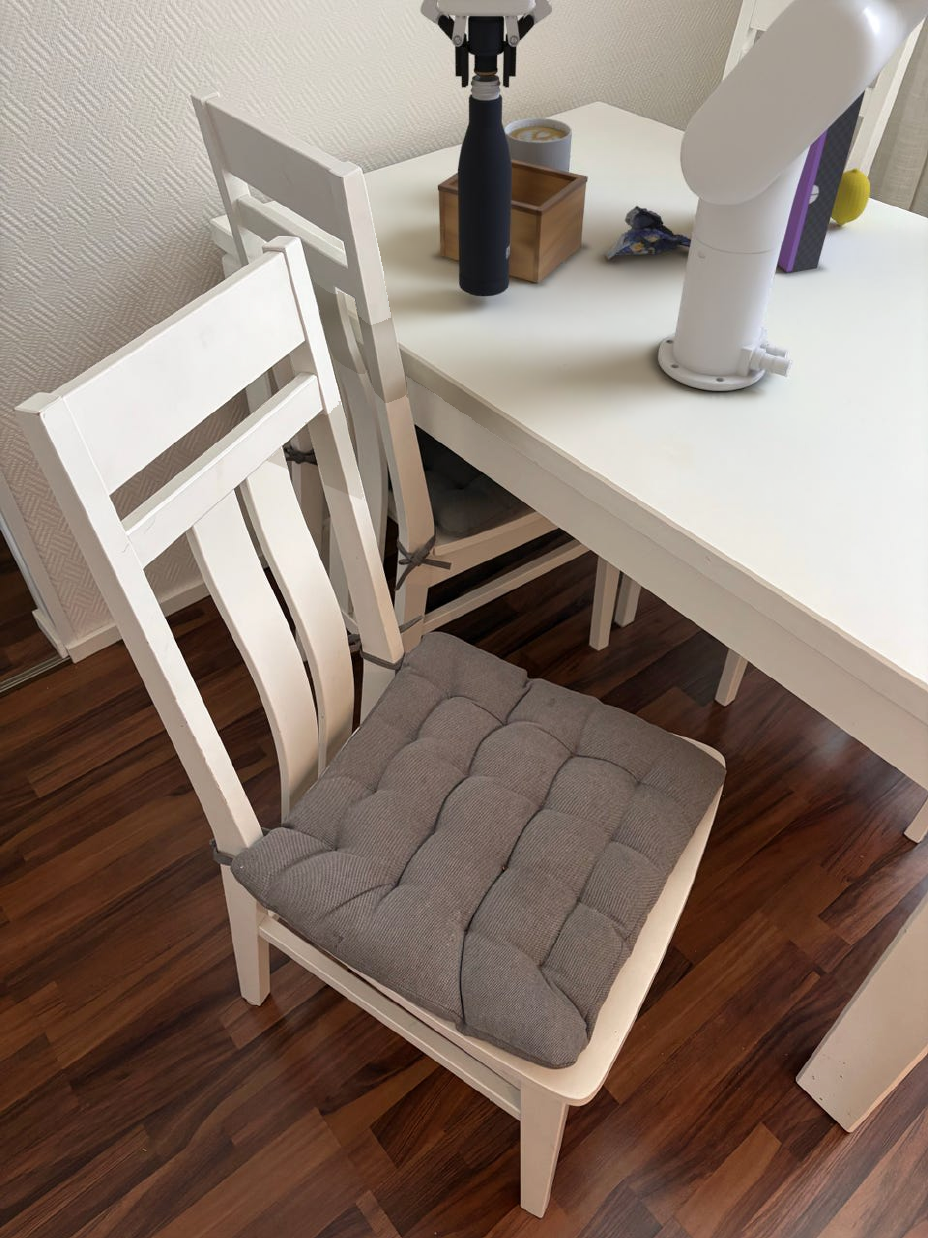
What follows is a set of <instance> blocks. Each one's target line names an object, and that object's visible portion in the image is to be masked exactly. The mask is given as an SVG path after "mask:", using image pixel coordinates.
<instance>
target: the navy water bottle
mask: <svg viewBox="0 0 928 1238" xmlns="http://www.w3.org/2000/svg"><path fill="white" fill-rule="evenodd" d="M467 41H468V52H469V55H472V56H473V58H474V59H473V61H474V64H473V65H474V66H473V67H474V68H473V73H474V74H475V75H473V76H472V77H471V82H470V86H471V88H470V92H471V93H470V95H469V96H468V123H467V127H466V131H465V133H464V137H463V140H462V144H461V147H460V153H459V158H458V165H457V173H458V232H459V261H458V285H459V288H460V290H462V291H463V292H464V293H466V294H468V295H470V296H475V297H494V296H497V295H500V294H502V293H504V292H506V290H507V289H508V288H509V285H510V275H509V263H510V228H511V192H512V164H511V157H510V151H509V146H508V142H507V139H506V135H505V132H504V128H505V127H504V125H503V96H502V95H501V94H500V93H501V91H502V90H501V87H500V86H501V84H502V83H501V81H500V76H498V75H497V73H498V71H499V68H498V56H500V55H502V54H503V47H504V41H505V16H467Z"/></svg>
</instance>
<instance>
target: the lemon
mask: <svg viewBox="0 0 928 1238" xmlns="http://www.w3.org/2000/svg"><path fill="white" fill-rule="evenodd" d="M870 194H871V183H870V180H869V178H868V177H867V175H866V174H865V173H863V172H862V171H860V169H859V168H856V167H855V168H853V169H850V170H847V171H843V174H842V178H841V182H840V185H839V189H838V193H837V196H836V200H835V204H834V207H833V211H832V215H831V218H830V219H832V220H833V221H835V222H836V224H837V225H838V226H841V227H842V226H844V225H845V224H847V223H851V222H853V221H855V220H857V219H858V218H859V217H861V215H862V214H863V213H864V211H865V209H866V208H867V205H868V203H869V199H870Z"/></svg>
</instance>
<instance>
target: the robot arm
mask: <svg viewBox="0 0 928 1238" xmlns="http://www.w3.org/2000/svg"><path fill="white" fill-rule="evenodd" d="M419 10H420V13H421V15H423V16H424V17H425V18H427V19H428V20H429V21H431V22H432V23H433V24H435V25H437V26H438V27H439V28H440V30H441V31H442V32H443V33H444V34H445V35H446V36H447V38H448V39H450V41H451V43H452V44H453V46H454V56H455V57H454V67H455V70H454V72H455V73H454V75H455V77H458V78H459V77H460V78H461V88H462V89H463V88H464V89H465V88H467V87H469V82H470V81H469V80H470V53H469V52H468V34H467V33H466V32H465V31H466V25H467V21H468V17H469V16H503V17H504V22H505V27H506V33H505V37H504V47H503V53H502V54H503V56H502V87H504V88H505V89H507V88H510V78H514V77H515V78H516V77H517V48H518V45H519V44H520V42H521V40H523V39H524V37H525V36H526V35H527V34H528V33H530V31H531V30H532V28H533V27H534V26H536V25H537V24H539V23H540V22H541V21H543V20H544V19H545V18H547V17H548V16H550V15H551V14H552V12H553V6H552V3H551V1H550V0H422V3H421V5H420V9H419ZM451 16H455V17H454V19H453V17H451ZM518 16H521V17H520V18H519V17H518ZM926 17H928V0H793V1H792V2H790V3H789V4H788V5H787V6H786V7H785V9H783V11H781V13H779V15H778V16H777V17H776V18H775V19H774V20H773V21H772V23H771V24H769V26H768V27H767V28H766V30H764V31H763V33H762V34H761V35H760V36H759V37H760V38H759V39H758V38H757V39H758V40H756V41H755V42H754V44H753V45H752V46H751V47H750V48H749V49H748V51H747V52H745V54H744V55H743V56H742V58H741V59H740V60H739V61H738V62H737V64H736V65H735V66H734V67H733V68H732V69H731V71H730V72H729V73H728V74H727V75H726V76H725V78H723V80H722V81H721V82H720V83H719V84H718V85H717V87H716V88H715V89H714V91H713V92H712V93H711V94H710V95H709V96H708V98H706V100H705V101H704V102H703V104H702V105H700V107H698V110H696V112H695V113H694V114H693V116H692V117H691V119H690V120H689V122H688V123H687V126H686V128H685V130H684V132H683V136H682V140H681V144H680V153H679V159H680V168H681V173H682V176H683V179H684V181H685V183H686V185H687V187H688V188H689V189H690V191H691V192H692V193H693V194H695V196H696V197H698V200H697V205H696V211H695V216H694V222H693V227H692V233H691V238H690V239H691V244H690V247H689V250H688V255H687V262H686V267H685V274H684V279H683V286H682V292H681V299H680V302H679V303H680V304H679V309H678V315H677V321H676V327H675V332H673V333H672V334H670V335H668V336H666V337H665V338H664V339H663V341H662V342H661V343H660V345H659V348H658V355H657V360H658V364H659V366H660V367H661V370H663V372H665V374H666V375H668V376H669V377H670V378H672V379H673V380H675V381H677V382H679V383H681V384H683V385H686V386H688V387H692V388H695V389H700V390H705V391H716V392H717V391H719V392H725V391H726V392H727V391H734V390H739V389H743V388H747V387H749V386H751V385H753V384H756V383H757V382H758V381H759V380H760V379H762V377H763V376H764V374H765V373H766V371H768V372H770V373H772V374H775V375H779V376H782V377H787V376H788V375H789V373H790V370H791V369H792V366H793V359H792V358H788V354H789V348H784V347H782V346H776V345H772V344H770V341H767V336H768V333H769V328H766V327H763V325H764V320H765V316H766V311H767V308H768V304H769V300H770V295H771V291H772V287H773V284H774V279H775V278H774V277H775V275H776V270H777V268H778V266H777V263H778V258H779V254H780V250H781V246H782V242H783V239H784V235H785V231H786V227H787V223H788V219H789V215H790V211H791V207H792V203H793V200H794V196H795V193H796V189H797V186H798V183H799V180H800V176H801V173H802V170H803V167H804V164H805V161H806V158H807V155H808V152H809V148H810V145H811V144H812V143H813V142H814V141H815V140H816V139H817V138H818V137H819V136H820V135H821V134H822V133H823V132H824V131H825V130H826V129H827V128H828V127H829V126H830V125H832V124H833V123H834V122H835V121H836V120H837V119H838V118H839V117H840V116H841V115H842V114H843V113H844V112H845V110H846V109H847V108H848V107H849V106H850V105H851V104H852V103H853V102H854V101H855V100H856V99H857V98H858V97H859V96H860V95H861V94H862V93H863V92H864V91H865V92H866V90H867V88H868V87H869V86H870V85H871V84H872V83H873V82H874V80H875V79H876V78H877V77H878V75H879V74H880V73H881V72H882V71H883V69H884V68H885V67H886V66H887V64H888V63H889V61H890V60H891V58H893V55H894V54H895V53H896V51H897V50H898V49H899V47H901V45H902V43H903V42H904V41H905V40H906V39H907V38H908V36H909V35H911V33H912V32H914V30H915V29H916V28H917V27H918V26H919V25H920V24H921V23H922V22H923V21H924V20H925V19H926ZM865 89H866V90H865Z"/></svg>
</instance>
